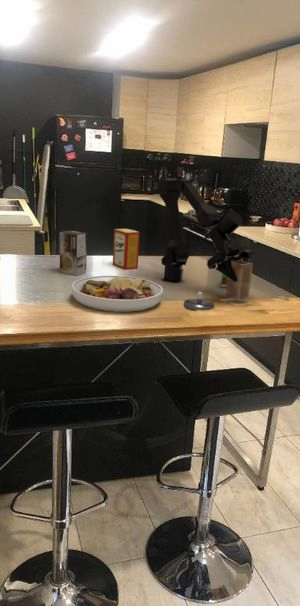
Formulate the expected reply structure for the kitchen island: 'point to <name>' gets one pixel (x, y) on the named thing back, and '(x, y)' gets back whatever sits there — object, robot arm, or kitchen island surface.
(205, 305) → the hub
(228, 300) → the cork pad
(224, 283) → the food container
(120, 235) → the baking soda box
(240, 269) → the collar
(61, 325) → the kitchen island surface
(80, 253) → the coffee box
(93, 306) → the bowl
